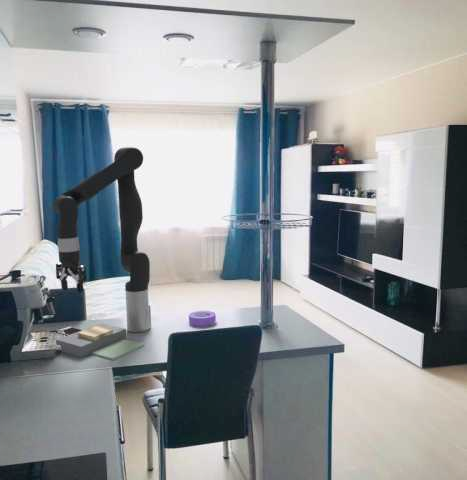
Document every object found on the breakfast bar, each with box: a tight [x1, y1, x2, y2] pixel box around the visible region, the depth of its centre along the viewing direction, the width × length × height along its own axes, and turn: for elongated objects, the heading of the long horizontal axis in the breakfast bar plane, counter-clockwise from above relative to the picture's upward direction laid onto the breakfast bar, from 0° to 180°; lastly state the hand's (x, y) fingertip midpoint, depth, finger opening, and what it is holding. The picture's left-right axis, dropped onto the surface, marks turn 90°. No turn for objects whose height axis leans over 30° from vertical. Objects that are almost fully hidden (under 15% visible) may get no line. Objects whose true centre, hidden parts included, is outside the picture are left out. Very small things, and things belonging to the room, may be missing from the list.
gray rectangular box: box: [55, 322, 127, 358], centre depth 180 cm, size 22×14×4 cm, turn 148°
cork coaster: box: [78, 325, 113, 341], centre depth 178 cm, size 9×9×2 cm
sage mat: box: [91, 338, 146, 361], centre depth 174 cm, size 16×11×1 cm
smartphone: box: [59, 326, 83, 336], centre depth 193 cm, size 7×16×1 cm, turn 55°
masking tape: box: [188, 310, 217, 328], centre depth 205 cm, size 12×12×4 cm
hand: (72, 291), depth 178 cm, fingers open, 8 cm apart
